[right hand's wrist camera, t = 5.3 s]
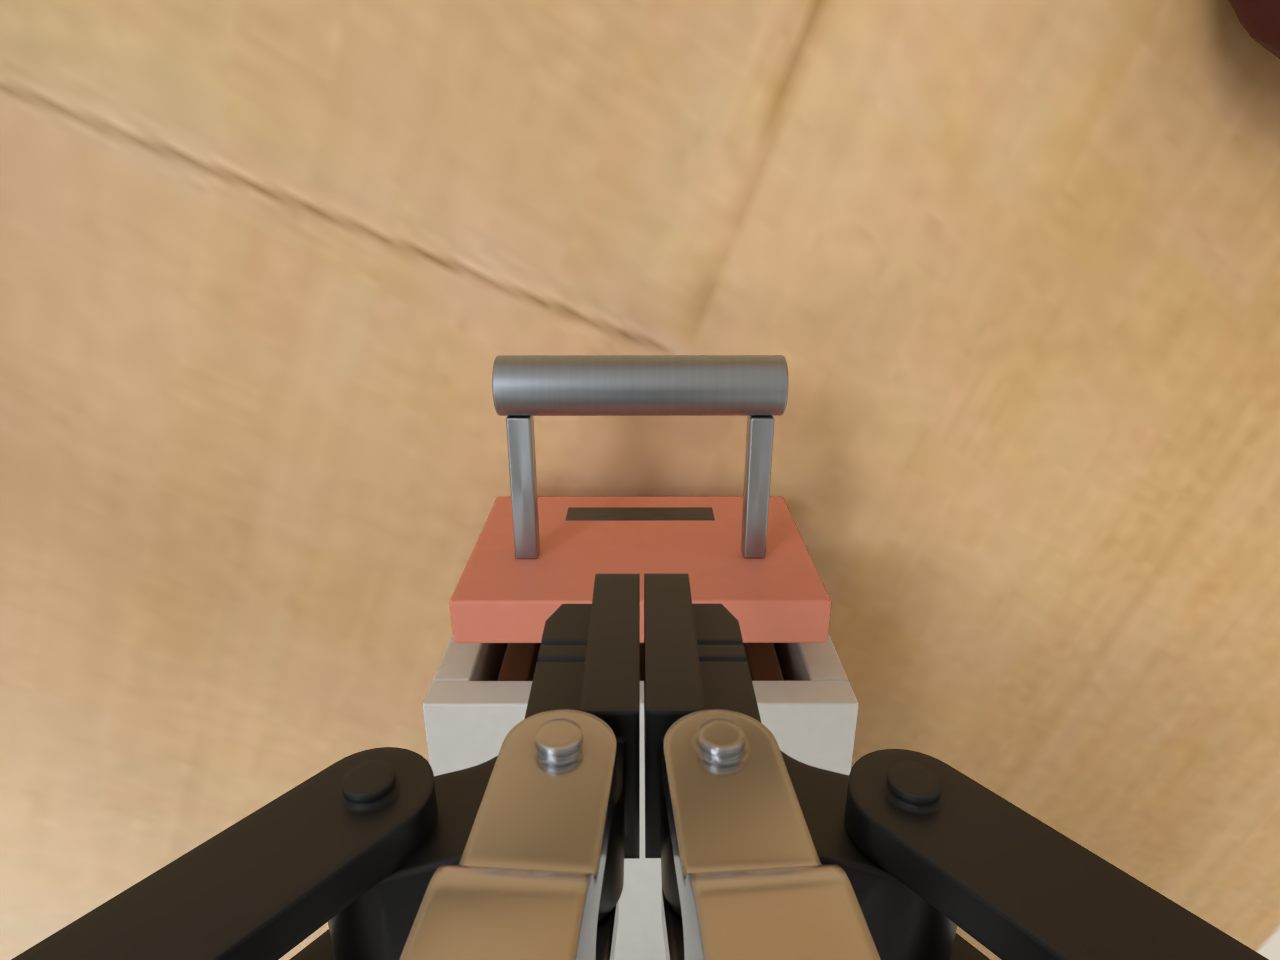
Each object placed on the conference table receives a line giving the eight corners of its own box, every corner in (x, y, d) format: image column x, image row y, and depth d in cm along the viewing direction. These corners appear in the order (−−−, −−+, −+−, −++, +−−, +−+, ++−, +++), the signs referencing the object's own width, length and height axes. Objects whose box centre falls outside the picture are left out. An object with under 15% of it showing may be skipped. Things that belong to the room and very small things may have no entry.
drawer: (484, 326, 23) (425, 380, 16) (795, 326, 23) (855, 380, 16) (522, 852, 30) (491, 1028, 24) (758, 851, 30) (789, 1028, 24)
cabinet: (488, 544, 26) (420, 703, 18) (792, 544, 26) (860, 703, 18) (515, 897, 32) (473, 1136, 24) (764, 896, 32) (807, 1136, 24)
